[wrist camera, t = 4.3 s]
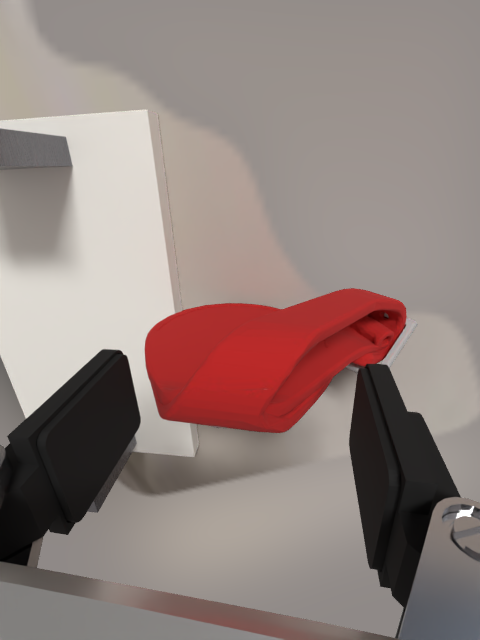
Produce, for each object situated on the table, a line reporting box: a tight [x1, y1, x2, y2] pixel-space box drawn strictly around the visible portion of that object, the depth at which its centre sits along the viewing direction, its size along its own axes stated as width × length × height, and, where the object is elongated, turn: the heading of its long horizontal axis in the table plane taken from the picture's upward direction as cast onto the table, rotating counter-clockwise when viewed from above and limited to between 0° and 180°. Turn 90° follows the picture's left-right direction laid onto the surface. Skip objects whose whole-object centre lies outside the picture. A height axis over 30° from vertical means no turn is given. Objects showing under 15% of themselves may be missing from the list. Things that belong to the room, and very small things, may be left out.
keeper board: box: [0, 109, 199, 512], centre depth 17 cm, size 12×20×6 cm, turn 2°
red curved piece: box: [145, 288, 417, 433], centre depth 13 cm, size 12×4×10 cm, turn 88°
